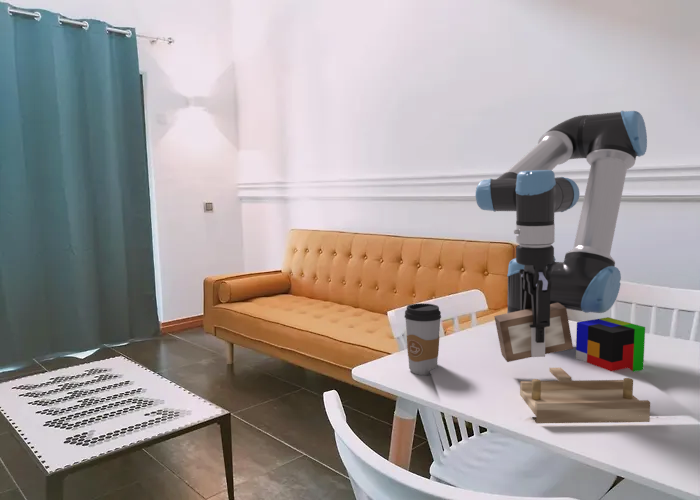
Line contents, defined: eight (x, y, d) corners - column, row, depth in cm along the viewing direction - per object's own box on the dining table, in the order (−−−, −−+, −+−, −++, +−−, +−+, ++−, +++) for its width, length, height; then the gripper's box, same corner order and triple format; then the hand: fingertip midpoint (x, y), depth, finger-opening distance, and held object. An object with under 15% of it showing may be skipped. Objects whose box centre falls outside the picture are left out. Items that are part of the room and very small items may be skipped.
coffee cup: (397, 371, 124) (396, 307, 122) (418, 362, 130) (418, 301, 128) (427, 379, 119) (427, 313, 117) (448, 369, 125) (448, 306, 123)
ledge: (519, 400, 106) (520, 371, 105) (622, 399, 106) (623, 370, 105) (536, 423, 96) (537, 391, 96) (649, 421, 96) (651, 389, 95)
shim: (549, 376, 119) (549, 367, 119) (560, 376, 119) (560, 367, 119) (559, 386, 113) (559, 377, 113) (571, 386, 113) (571, 377, 113)
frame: (507, 362, 114) (499, 321, 113) (501, 354, 118) (494, 316, 117) (573, 348, 113) (566, 307, 112) (565, 341, 118) (558, 302, 116)
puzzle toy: (575, 363, 127) (576, 322, 126) (606, 357, 131) (608, 317, 130) (611, 377, 118) (612, 332, 117) (643, 370, 122) (645, 327, 121)
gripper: (505, 240, 121) (505, 339, 125) (529, 251, 104) (529, 367, 107) (538, 238, 121) (538, 338, 124) (569, 250, 104) (567, 366, 107)
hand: (534, 351), depth 116 cm, fingers closed on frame, 5 cm apart
